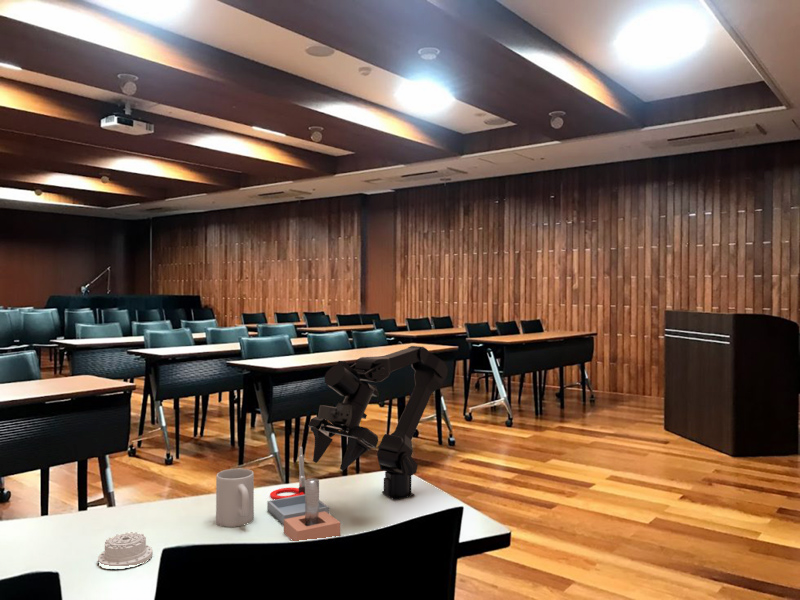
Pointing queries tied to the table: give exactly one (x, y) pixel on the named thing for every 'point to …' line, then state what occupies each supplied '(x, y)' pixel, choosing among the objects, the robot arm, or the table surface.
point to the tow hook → (301, 482)
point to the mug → (234, 497)
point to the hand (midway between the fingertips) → (327, 465)
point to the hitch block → (311, 527)
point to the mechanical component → (125, 550)
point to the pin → (311, 501)
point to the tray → (290, 507)
